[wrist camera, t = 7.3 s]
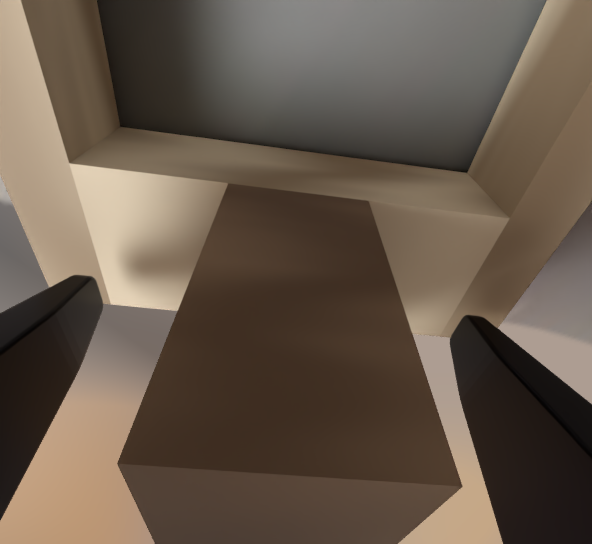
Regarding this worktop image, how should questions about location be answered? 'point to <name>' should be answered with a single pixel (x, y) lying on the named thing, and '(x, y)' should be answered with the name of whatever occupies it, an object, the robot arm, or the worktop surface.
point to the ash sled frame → (288, 279)
